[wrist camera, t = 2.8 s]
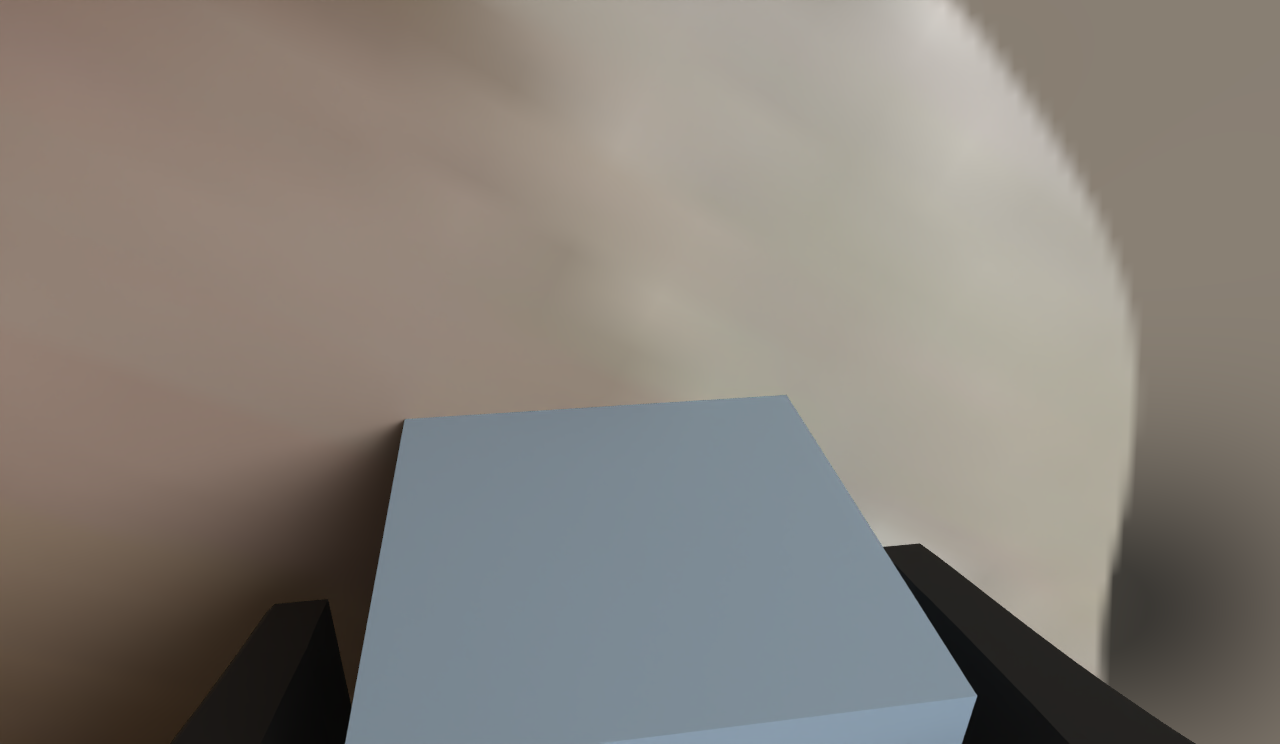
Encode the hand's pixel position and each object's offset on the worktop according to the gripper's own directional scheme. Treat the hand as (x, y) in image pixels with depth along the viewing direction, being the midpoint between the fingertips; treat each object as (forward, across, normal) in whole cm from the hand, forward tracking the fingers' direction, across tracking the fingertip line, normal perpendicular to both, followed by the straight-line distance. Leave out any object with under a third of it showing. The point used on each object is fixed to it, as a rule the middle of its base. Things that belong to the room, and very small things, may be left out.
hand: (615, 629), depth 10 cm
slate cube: (+2, 0, 0) cm, 2 cm away
